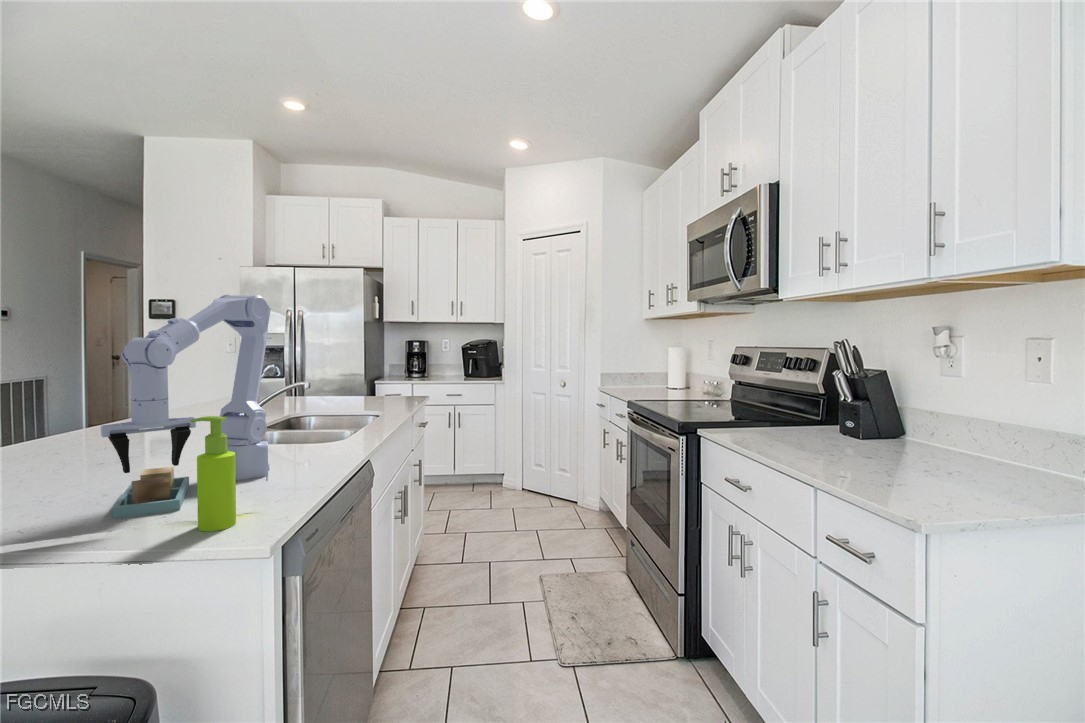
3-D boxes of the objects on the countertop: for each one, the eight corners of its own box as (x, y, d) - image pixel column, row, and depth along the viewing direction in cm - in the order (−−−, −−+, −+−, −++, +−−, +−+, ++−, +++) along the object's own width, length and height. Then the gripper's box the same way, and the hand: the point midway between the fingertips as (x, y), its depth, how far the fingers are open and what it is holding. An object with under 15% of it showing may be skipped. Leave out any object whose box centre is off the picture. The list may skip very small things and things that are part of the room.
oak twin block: (174, 489, 109) (173, 466, 109) (171, 496, 105) (170, 472, 105) (145, 492, 107) (144, 469, 107) (140, 499, 103) (140, 475, 102)
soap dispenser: (203, 519, 95) (202, 414, 94) (242, 519, 96) (241, 414, 95) (184, 531, 89) (182, 419, 88) (225, 531, 90) (224, 419, 89)
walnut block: (163, 500, 102) (162, 476, 102) (170, 506, 99) (169, 481, 99) (132, 506, 98) (131, 481, 98) (138, 512, 95) (137, 486, 95)
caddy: (189, 489, 113) (189, 476, 112) (179, 515, 97) (179, 499, 97) (132, 496, 108) (131, 482, 107) (112, 523, 92) (112, 507, 92)
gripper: (188, 394, 106) (189, 458, 107) (97, 400, 95) (99, 471, 96) (198, 397, 102) (199, 464, 102) (103, 404, 91) (105, 478, 91)
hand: (151, 468), depth 99 cm, fingers open, 7 cm apart
